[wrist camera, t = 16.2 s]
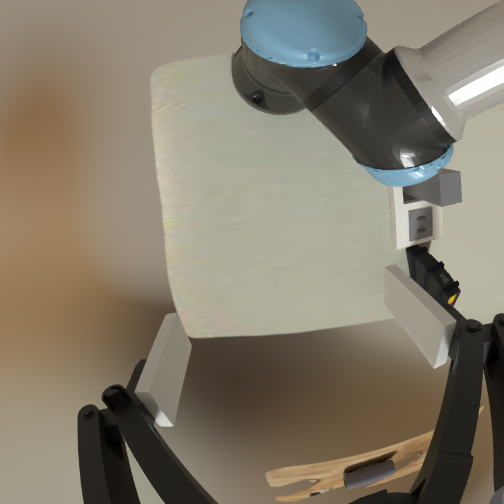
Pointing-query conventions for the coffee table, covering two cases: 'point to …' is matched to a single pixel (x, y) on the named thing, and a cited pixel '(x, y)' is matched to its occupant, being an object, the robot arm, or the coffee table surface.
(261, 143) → the coffee table surface
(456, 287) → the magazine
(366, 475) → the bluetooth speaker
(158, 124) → the coffee table surface
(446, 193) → the grey tall block
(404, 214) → the white flat rectangular frame
